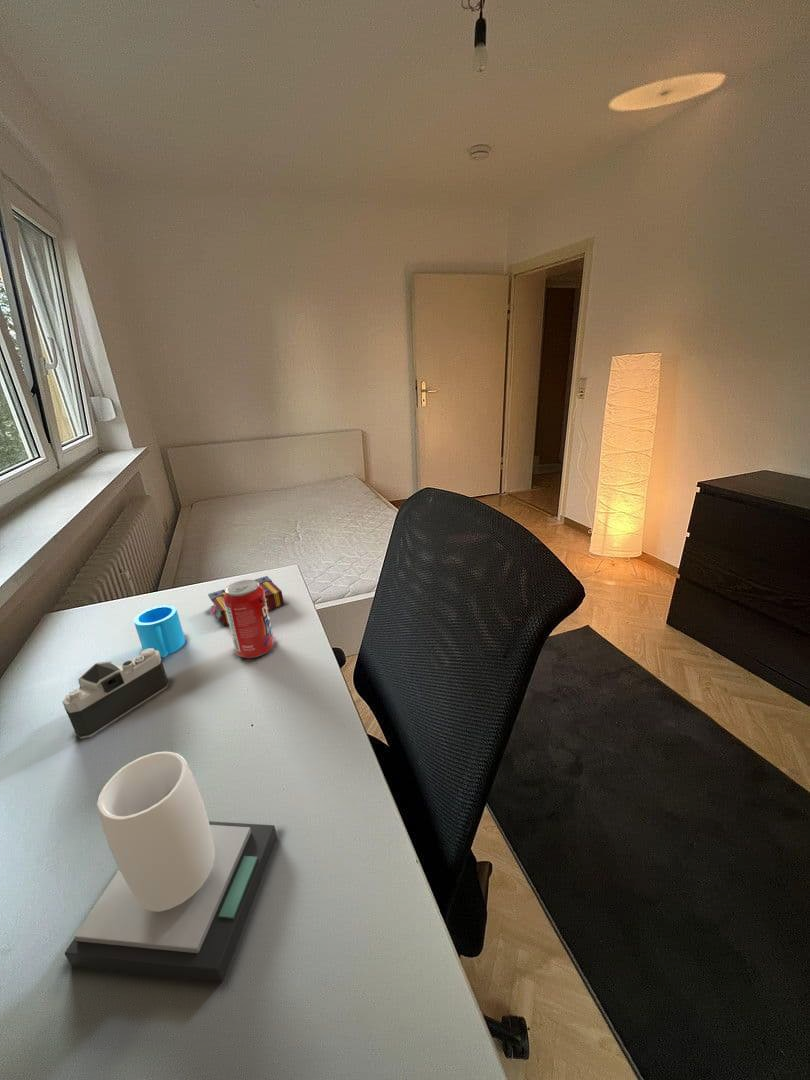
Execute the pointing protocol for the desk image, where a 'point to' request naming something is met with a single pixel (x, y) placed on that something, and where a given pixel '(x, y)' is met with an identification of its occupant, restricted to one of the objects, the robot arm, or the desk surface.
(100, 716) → the camera
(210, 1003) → the desk surface
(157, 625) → the mug
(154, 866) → the cup
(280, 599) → the decorative book
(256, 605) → the soda can
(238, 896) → the scale
